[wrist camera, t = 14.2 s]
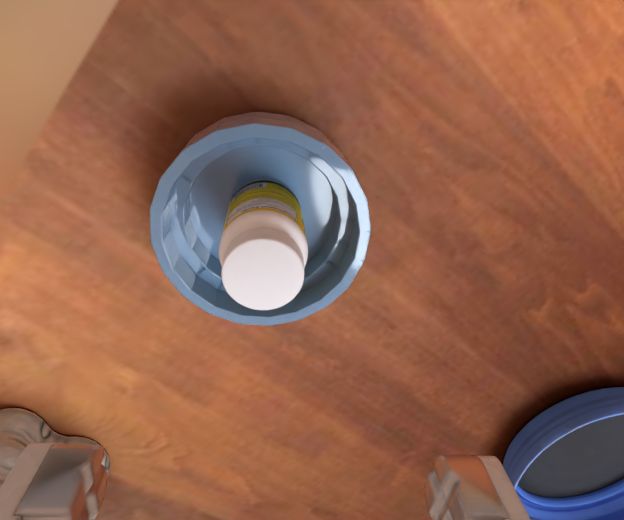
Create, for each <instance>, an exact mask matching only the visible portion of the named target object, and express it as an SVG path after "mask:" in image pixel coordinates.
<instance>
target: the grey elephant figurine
mask: <svg viewBox="0 0 624 520" xmlns="http://www.w3.org/2000/svg"><path fill="white" fill-rule="evenodd" d="M31 442H36V443H60V444H80V445H99V444H98V443H97V442H95V441H93V440H90V439H88V438H83V437H66V436H63V435H59V434H58V433H56V432H54V431H52V430H51V429H50V428H49V426H48V425H47V424H46V423H45V422H44V421H43V419H42V418H40V417H39V416H37V415H36V414H35V413H33V412H30V411H28V410H25V409H20V408H7V409H2V410H0V488H1V486H2V484H3V483H4V481H5V479H6V478H7V476H8V474H9V473H10V471H11V470H12V468H13V466H14V465H15V463H16V461H17V460H18V458H19V456H20V455H21V453H22V451H23V450H24V449H25V448H26V447H27V446H28V445H29V444H30V443H31ZM100 446H101V445H100ZM104 454H105V455H104V458H103V461H102V463H101V464H102V465H104V466H105V467H106V469H107V475H108V473H109V470H110V462H109V457H108V454H107V453H106V451H105V450H104ZM96 516H97V514H96V515H94V516H93V517H92V518H91V519H90V520H94V519H95V517H96Z"/></svg>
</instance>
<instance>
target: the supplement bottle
mask: <svg viewBox="0 0 624 520" xmlns="http://www.w3.org/2000/svg"><path fill="white" fill-rule="evenodd" d="M307 257H308V245H307V239H306V234H305V228H304V223H303V218H302V212H301V207H300V204H299V201H298V199H297V197H296V195H295V194H294V193H293V192H292V191H291V190H290V189H289V188H288V187H287V186H285V185H284V184H282V183H280V182H278V181H275V180H270V179H258V180H253V181H250V182H248V183H246V184H244V185H243V186H241V187H240V188H239V189H238V190H237V191H236V192H235V193H234V195H233V197H232V198H231V201H230V203H229V207H228V212H227V216H226V220H225V224H224V228H223V232H222V236H221V240H220V245H219V260H220V263H221V266H222V270H221V276H222V282H223V285H224V287H225V289H226V291H227V293H228V294H229V295H230V296H231V297H232V298H233V299H234V300H235V301H236V302H238V303H239V304H241V305H243V306H245V307H248V308H251V309H255V310H271V309H276V308H279V307H281V306H284V305H285V304H287V303H289V302H290V301H291V300H292V299H294V298H295V296H296V295H297V294H298V293H299V291H300V289H301V287H302V285H303V281H304V268H305V265H306V262H307Z"/></svg>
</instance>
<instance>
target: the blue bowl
mask: <svg viewBox="0 0 624 520" xmlns="http://www.w3.org/2000/svg"><path fill="white" fill-rule="evenodd" d="M258 179H270V180H275V181H278V182H280V183H282V184H284V185H285V186H287V187H288V188H289V189H290V190H291V191H292V192H293V193H294V194H295V195H296V197H297V199H298V201H299V204H300V207H301V212H302V218H303V223H304V228H305V234H306V239H307V245H308V257H307V262H306V265H305V268H304V281H303V285H302V287H301V289H300V291H299V293H298V294H297V295H296V296H295V298H294V299H292V300H291V301H290V302H289V303H287V304H285V305H284V306H281V307H279V308H276V309H271V310H255V309H251V308H248V307H245V306H243V305H241V304H239V303H238V302H236V301H235V300H234V299H233V298H232V297H231V296H230V295H229V294H228V293H227V291H226V289H225V287H224V285H223V282H222V276H221V270H222V266H221V263H220V260H219V245H220V240H221V236H222V232H223V228H224V224H225V220H226V216H227V212H228V207H229V203H230V201H231V198H232V197H233V195H234V193H235V192H236V191H237V190H238V189H239V188H240V187H241V186H243V185H244V184H246V183H248V182H250V181H253V180H258ZM370 234H371V225H370V217H369V208H368V201H367V198H366V196H365V194H364V192H363V190H362V188H361V186H360V184H359V182H358V180H357V178H356V176H355V174H354V172H353V170H352V168H351V166H350V165H349V163H348V161H347V160H346V158H345V156H344V155H343V153H342V152H341V151H340V150H339V149H338V148H337V147H336V146H335V145H334V144H333V143H332V142H331V141H330V140H329V139H328V138H327V137H326V136H325V135H324V134H323V133H322V132H321V131H319V130H318V129H316V128H314V127H312V126H310V125H308V124H306V123H304V122H302V121H300V120H298V119H296V118H294V117H292V116H289V115H281V114H274V113H266V112H259V111H257V112H250V113H245V114H240V115H235V116H230V117H225V118H222V119H220V120H219V121H217V122H215V123H213V124H212V125H210V126H208V127H207V128H205V129H203V130H202V131H200V132H198V133H197V134H195V135H194V136H193V137H192V139H191V140H190V141H189V142H188V143H187V145H186V146H185V147H184V148H183V150H182V151H181V152H180V153H179V154H178V156H177V157H176V158H175V159H174V161H173V162H172V163H171V164H170V166H169V167H168V168H167V169H166V171H165V172H164V173H163V174H162V176H161V178H160V179H159V182H158V185H157V188H156V191H155V194H154V197H153V200H152V203H151V206H150V236H151V244H152V246H153V249H154V251H155V254H156V256H157V259H158V261H159V264H160V266H161V269H162V271H163V273H164V274H165V275H166V277H167V278H168V279H169V280H170V281H171V283H172V284H173V285H174V286H175V287H176V289H177V290H178V291H179V292H180V293H181V295H182V296H183V297H184V298H186V299H187V300H189V301H190V302H192V303H194V304H195V305H197V306H198V307H200V308H201V309H203V310H204V311H206V312H207V313H210V314H211V315H214V316H217V317H220V318H223V319H226V320H229V321H232V322H235V323H239V324H250V325H266V326H271V325H276V324H282V323H287V322H292V321H297V320H301V319H303V318H305V317H307V316H309V315H311V314H313V313H315V312H317V311H319V310H321V309H323V308H325V307H327V306H328V305H330V304H331V303H332V302H333V301H334V300H335V299H336V298H337V297H338V296H340V295H341V294H342V293H343V292H344V291H345V290H346V289H347V288H348V287H349V286H350V284H351V283H352V281H353V279H354V278H355V276H356V274H357V273H358V271H359V269H360V268H361V266H362V264H363V263H364V260H365V257H366V252H367V247H368V243H369V238H370Z"/></svg>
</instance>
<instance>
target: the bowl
mask: <svg viewBox="0 0 624 520" xmlns="http://www.w3.org/2000/svg"><path fill="white" fill-rule="evenodd" d="M503 468H504V470H505V471H506V473H507V475H508V477H509V479H510V481H511V483H512V485H513V487H514V488H515V490H516V492H517V494H518V496H519V498H520V500H521V502H522V504H523V506H524V507H525V509H526V511H527V513H528V515H529V517H530V519H532V520H624V387H613V388H604V389H598V390H593V391H589V392H585V393H582V394H579V395H576V396H573V397H571V398H568V399H566V400H564V401H561V402H559V403H557V404H555V405H553V406H552V407H550V408H548V409H546V410H545V411H543V412H542V413H540V414H539V415H537V416H536V417H535V418H533V419H532V420H531V421H530V422H529V423H527V424H526V425H525V426H524V427H523V428H522V429H521V430H520V432H519V433H518V434H517V435H516V436H515V438H514V439H513V441H512V442H511V444H510V445H509V447H508V450H507V452H506V455H505V458H504V463H503Z"/></svg>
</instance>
